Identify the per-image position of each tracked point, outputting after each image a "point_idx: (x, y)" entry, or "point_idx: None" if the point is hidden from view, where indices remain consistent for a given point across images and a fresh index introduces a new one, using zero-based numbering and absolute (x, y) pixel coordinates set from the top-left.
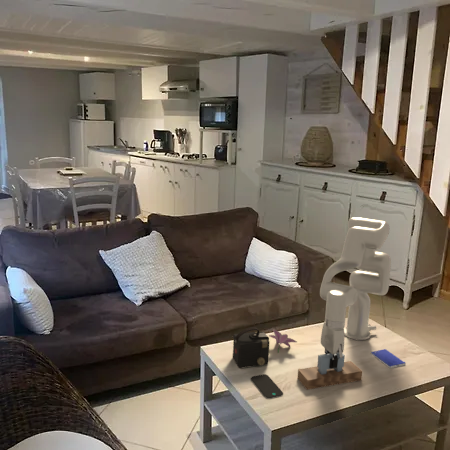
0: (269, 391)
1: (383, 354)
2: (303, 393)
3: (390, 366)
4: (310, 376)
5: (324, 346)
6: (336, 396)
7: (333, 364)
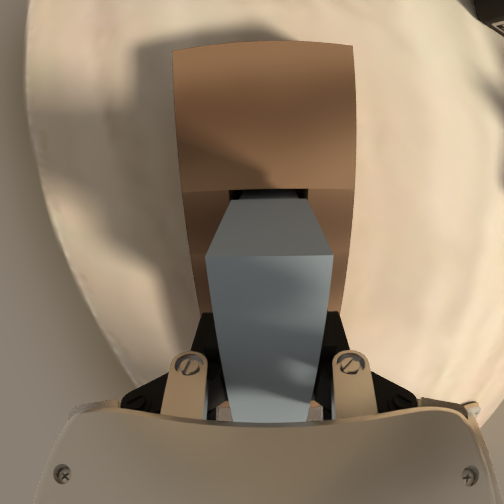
0: None
1: None
2: (165, 37)
3: None
4: (220, 89)
5: (332, 442)
6: (110, 209)
7: (198, 329)
